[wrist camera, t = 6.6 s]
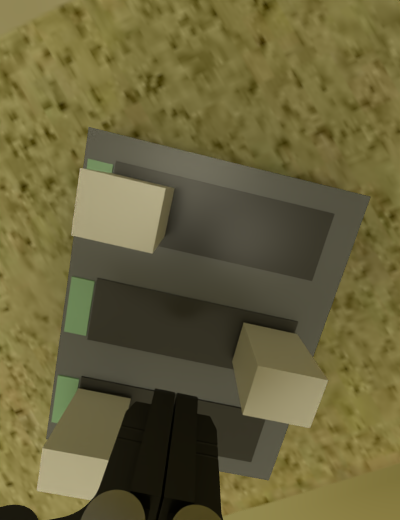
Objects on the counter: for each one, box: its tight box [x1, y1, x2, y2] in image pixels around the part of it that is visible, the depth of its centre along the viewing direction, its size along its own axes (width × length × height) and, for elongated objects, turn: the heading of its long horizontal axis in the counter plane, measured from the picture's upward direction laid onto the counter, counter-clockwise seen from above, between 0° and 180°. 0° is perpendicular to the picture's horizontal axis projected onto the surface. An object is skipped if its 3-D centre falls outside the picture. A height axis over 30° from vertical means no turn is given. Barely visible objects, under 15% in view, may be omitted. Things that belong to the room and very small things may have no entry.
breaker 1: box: [71, 168, 174, 254], centre depth 13 cm, size 3×2×4 cm
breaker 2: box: [37, 388, 131, 500], centre depth 15 cm, size 3×2×4 cm
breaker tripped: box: [232, 323, 328, 428], centre depth 14 cm, size 3×2×4 cm
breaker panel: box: [46, 127, 370, 480], centre depth 18 cm, size 14×18×3 cm
